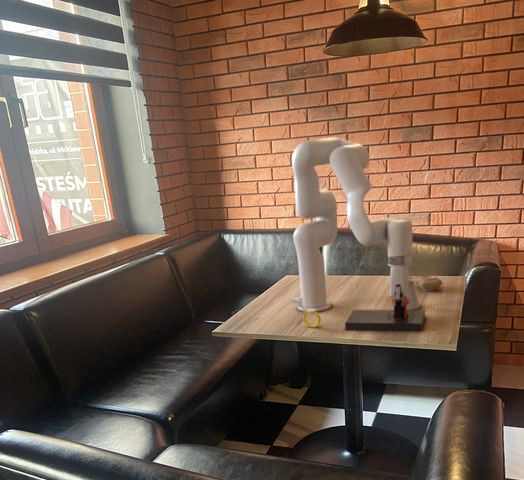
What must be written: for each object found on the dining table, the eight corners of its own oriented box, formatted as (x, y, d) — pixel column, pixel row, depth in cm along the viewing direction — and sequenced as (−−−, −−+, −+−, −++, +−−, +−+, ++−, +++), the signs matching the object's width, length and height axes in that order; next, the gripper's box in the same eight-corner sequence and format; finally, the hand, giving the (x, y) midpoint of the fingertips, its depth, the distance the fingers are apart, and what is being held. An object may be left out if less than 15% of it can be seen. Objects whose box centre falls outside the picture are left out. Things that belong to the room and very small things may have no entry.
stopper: (390, 319, 173) (390, 302, 171) (392, 313, 178) (392, 297, 176) (408, 319, 171) (408, 302, 169) (410, 314, 176) (410, 297, 174)
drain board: (345, 330, 175) (345, 322, 174) (353, 316, 187) (353, 309, 186) (421, 331, 167) (421, 323, 166) (424, 317, 179) (424, 310, 178)
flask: (420, 310, 186) (420, 282, 183) (399, 311, 188) (399, 283, 185) (419, 304, 193) (419, 277, 190) (398, 305, 195) (398, 278, 191)
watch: (302, 327, 183) (301, 310, 181) (306, 324, 185) (305, 308, 183) (318, 328, 179) (317, 311, 177) (322, 326, 182) (320, 309, 179)
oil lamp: (407, 285, 219) (407, 273, 217) (444, 285, 213) (444, 273, 211) (402, 292, 210) (402, 280, 208) (441, 292, 204) (441, 279, 202)
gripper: (391, 254, 177) (392, 306, 183) (384, 266, 162) (385, 323, 168) (414, 253, 174) (414, 307, 180) (409, 265, 159) (409, 323, 166)
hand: (400, 314), depth 174 cm, fingers closed on stopper, 5 cm apart
